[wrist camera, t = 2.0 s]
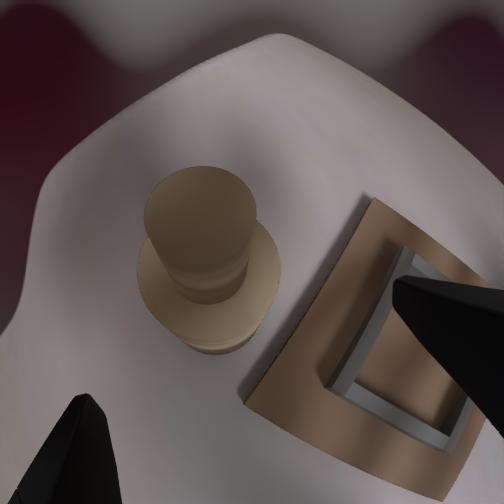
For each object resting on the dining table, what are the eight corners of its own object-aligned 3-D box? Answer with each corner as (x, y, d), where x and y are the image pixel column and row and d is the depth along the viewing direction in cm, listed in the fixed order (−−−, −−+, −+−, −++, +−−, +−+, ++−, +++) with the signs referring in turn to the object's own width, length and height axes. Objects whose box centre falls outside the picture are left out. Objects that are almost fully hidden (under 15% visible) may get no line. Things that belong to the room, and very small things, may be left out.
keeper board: (510, 313, 21) (528, 306, 19) (435, 499, 15) (453, 506, 13) (369, 203, 24) (381, 186, 22) (243, 403, 18) (245, 407, 16)
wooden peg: (278, 298, 21) (339, 195, 9) (225, 373, 19) (222, 365, 7) (206, 249, 22) (189, 111, 10) (151, 317, 20) (63, 233, 8)
